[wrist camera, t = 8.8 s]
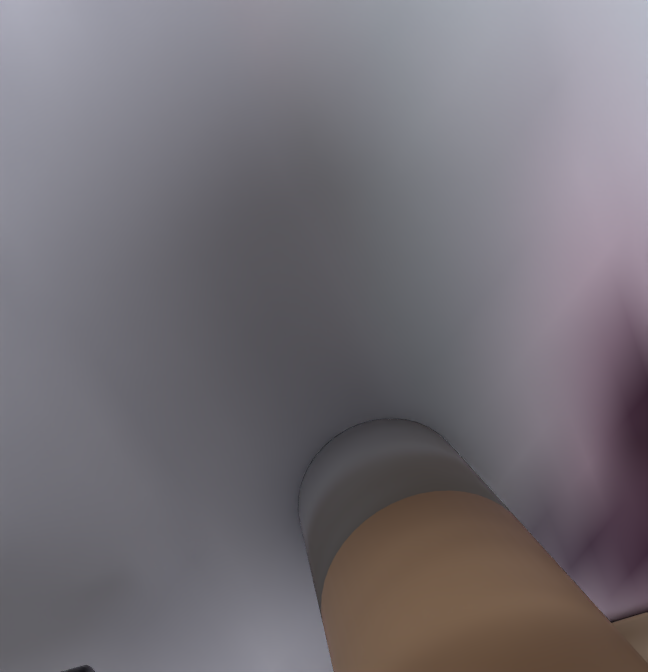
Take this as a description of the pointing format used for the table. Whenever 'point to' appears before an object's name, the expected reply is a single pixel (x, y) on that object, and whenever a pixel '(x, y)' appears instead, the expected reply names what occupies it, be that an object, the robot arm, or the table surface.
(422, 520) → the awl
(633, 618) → the board
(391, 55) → the table surface
